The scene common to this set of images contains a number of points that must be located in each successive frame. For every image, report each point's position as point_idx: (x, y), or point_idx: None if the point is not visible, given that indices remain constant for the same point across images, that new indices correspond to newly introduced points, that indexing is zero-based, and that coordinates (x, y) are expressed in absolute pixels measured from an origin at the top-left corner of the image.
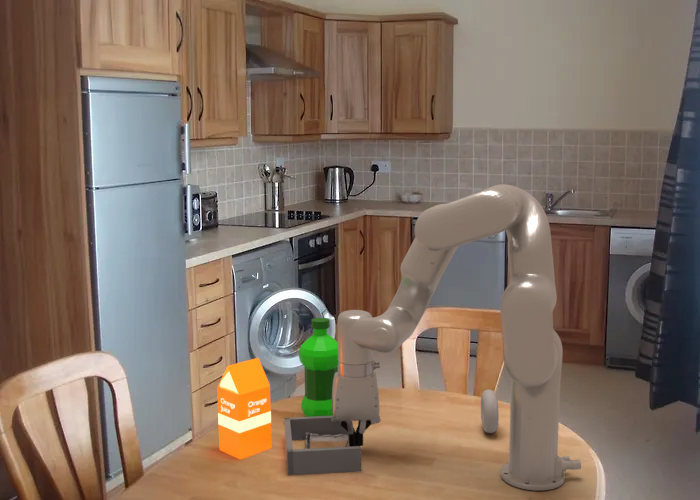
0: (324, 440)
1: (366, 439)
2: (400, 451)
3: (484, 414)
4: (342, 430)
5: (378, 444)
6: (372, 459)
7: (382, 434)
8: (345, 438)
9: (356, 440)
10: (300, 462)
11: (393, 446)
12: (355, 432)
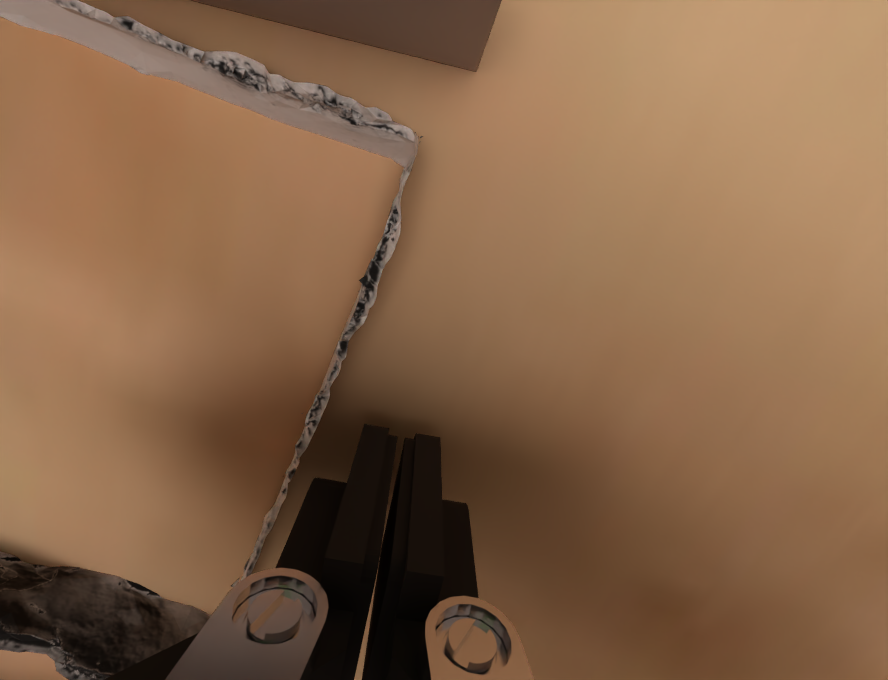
0: (114, 55)
1: (616, 189)
2: (764, 553)
3: None
4: (344, 5)
5: (669, 360)
6: None
7: (858, 103)
8: (371, 140)
9: (380, 575)
10: None
11: (772, 446)
12: (357, 657)
